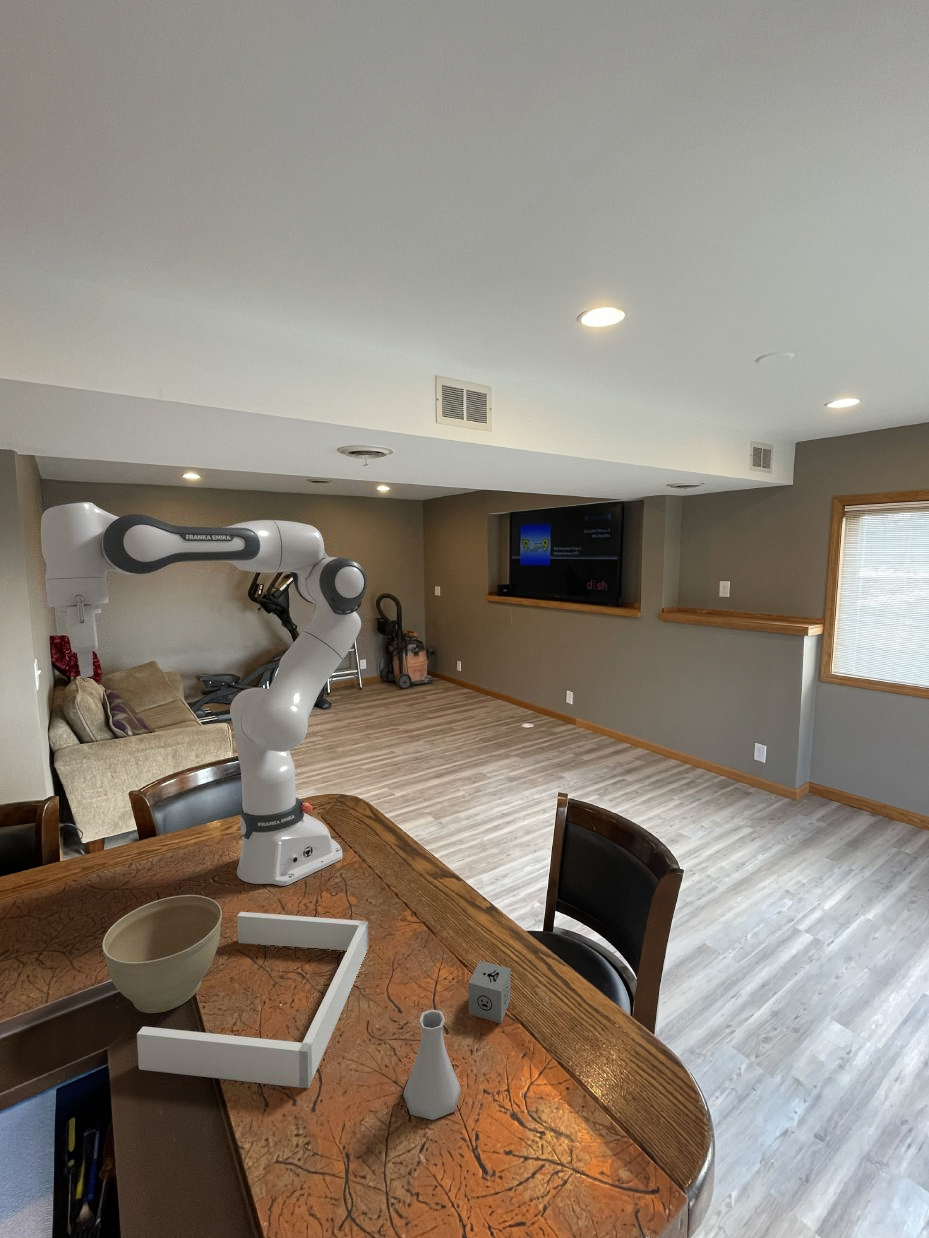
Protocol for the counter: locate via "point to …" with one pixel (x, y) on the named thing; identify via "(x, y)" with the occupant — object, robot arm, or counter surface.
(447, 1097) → the flask
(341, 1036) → the counter surface
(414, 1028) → the counter surface
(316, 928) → the box
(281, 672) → the robot arm
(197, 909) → the planter bowl
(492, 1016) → the dice cube
